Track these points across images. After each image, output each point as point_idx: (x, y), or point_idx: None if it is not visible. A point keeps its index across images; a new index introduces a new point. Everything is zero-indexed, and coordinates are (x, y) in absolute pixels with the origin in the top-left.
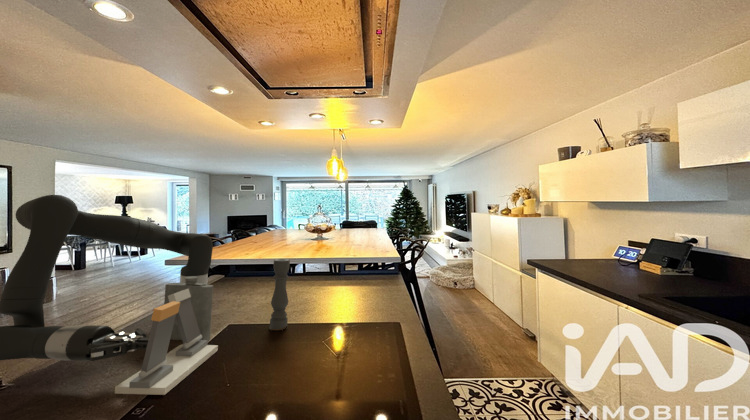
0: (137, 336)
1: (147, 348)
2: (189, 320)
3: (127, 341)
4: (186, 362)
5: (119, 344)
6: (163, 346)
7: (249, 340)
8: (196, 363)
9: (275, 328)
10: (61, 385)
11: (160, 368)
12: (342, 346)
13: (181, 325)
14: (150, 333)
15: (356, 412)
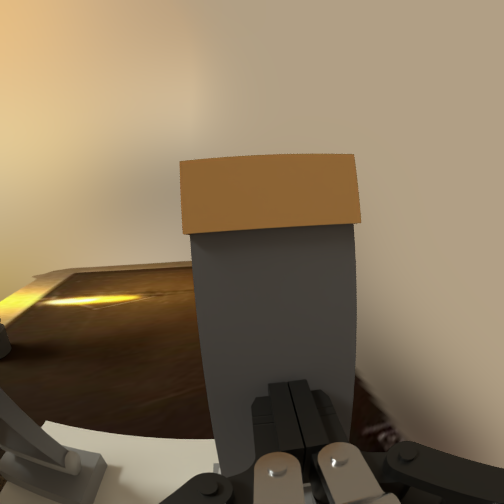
0: (273, 489)
1: (352, 378)
2: None
3: (371, 480)
4: (155, 463)
5: (437, 455)
6: None
7: (26, 385)
8: (161, 440)
9: (4, 349)
10: None
11: None
12: (125, 295)
13: (16, 409)
14: (354, 303)
15: None
